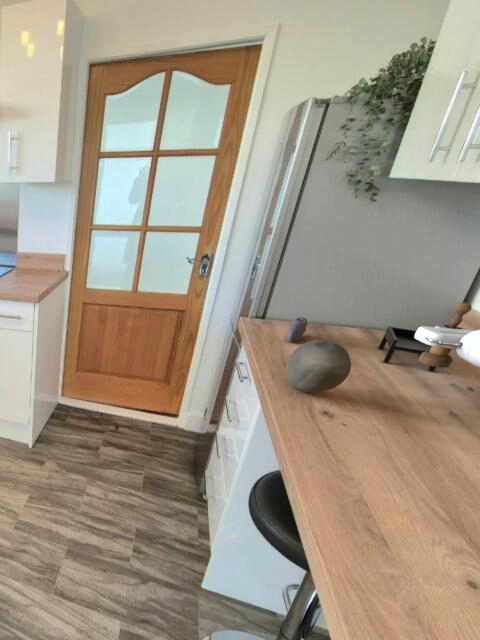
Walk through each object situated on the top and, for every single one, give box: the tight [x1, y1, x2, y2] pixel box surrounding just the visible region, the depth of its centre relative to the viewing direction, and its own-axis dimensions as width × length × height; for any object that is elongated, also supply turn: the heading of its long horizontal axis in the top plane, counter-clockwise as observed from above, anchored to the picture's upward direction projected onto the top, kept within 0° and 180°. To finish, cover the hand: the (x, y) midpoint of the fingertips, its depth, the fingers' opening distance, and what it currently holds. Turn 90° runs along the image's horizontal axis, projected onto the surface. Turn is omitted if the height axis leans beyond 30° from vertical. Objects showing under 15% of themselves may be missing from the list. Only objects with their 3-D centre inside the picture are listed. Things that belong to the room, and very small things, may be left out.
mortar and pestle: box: [417, 302, 472, 368], centre depth 121 cm, size 7×6×18 cm
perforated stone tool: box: [286, 316, 308, 343], centre depth 158 cm, size 15×5×7 cm, turn 135°
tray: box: [378, 326, 437, 373], centre depth 141 cm, size 12×16×8 cm
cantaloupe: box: [285, 339, 352, 394], centre depth 118 cm, size 14×14×15 cm
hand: (448, 329), depth 121 cm, fingers closed on mortar and pestle, 4 cm apart
